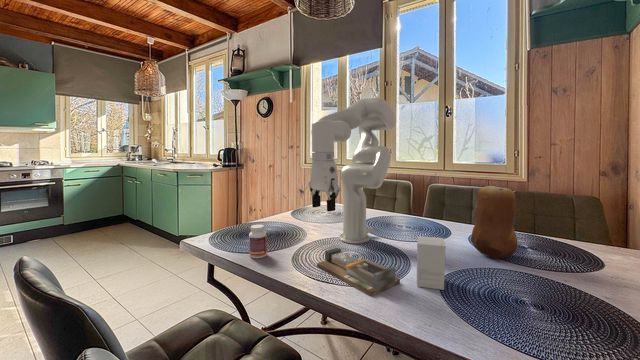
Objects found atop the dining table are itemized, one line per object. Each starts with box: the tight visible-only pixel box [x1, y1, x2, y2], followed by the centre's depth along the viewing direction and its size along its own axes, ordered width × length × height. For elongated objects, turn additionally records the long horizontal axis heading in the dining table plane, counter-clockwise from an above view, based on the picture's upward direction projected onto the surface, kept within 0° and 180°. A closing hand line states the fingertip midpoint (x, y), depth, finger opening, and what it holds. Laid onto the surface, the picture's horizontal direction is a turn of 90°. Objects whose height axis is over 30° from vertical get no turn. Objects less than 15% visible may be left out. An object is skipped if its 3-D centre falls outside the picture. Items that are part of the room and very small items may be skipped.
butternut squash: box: [470, 185, 518, 260], centre depth 103 cm, size 14×13×25 cm
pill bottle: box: [248, 224, 268, 259], centre depth 107 cm, size 6×6×11 cm
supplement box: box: [416, 235, 447, 291], centre depth 85 cm, size 7×7×13 cm
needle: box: [346, 259, 368, 271], centre depth 88 cm, size 8×2×4 cm, turn 127°
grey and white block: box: [324, 247, 361, 269], centre depth 96 cm, size 5×13×3 cm, turn 37°
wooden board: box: [316, 258, 401, 297], centre depth 91 cm, size 12×24×5 cm, turn 37°
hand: (323, 208), depth 102 cm, fingers open, 7 cm apart
